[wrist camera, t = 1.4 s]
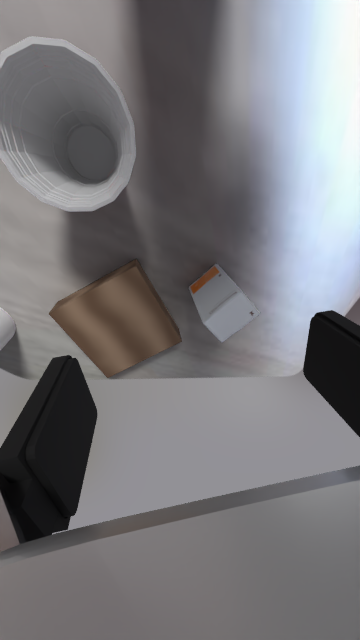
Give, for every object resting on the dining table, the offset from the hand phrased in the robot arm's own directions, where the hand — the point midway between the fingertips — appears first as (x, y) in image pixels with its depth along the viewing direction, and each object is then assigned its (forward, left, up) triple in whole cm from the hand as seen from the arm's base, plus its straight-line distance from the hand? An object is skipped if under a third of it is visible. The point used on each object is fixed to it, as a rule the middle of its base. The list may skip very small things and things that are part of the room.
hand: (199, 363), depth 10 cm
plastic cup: (+2, -12, -29) cm, 31 cm away
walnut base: (+11, +8, -28) cm, 32 cm away
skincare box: (-4, +10, -29) cm, 30 cm away
